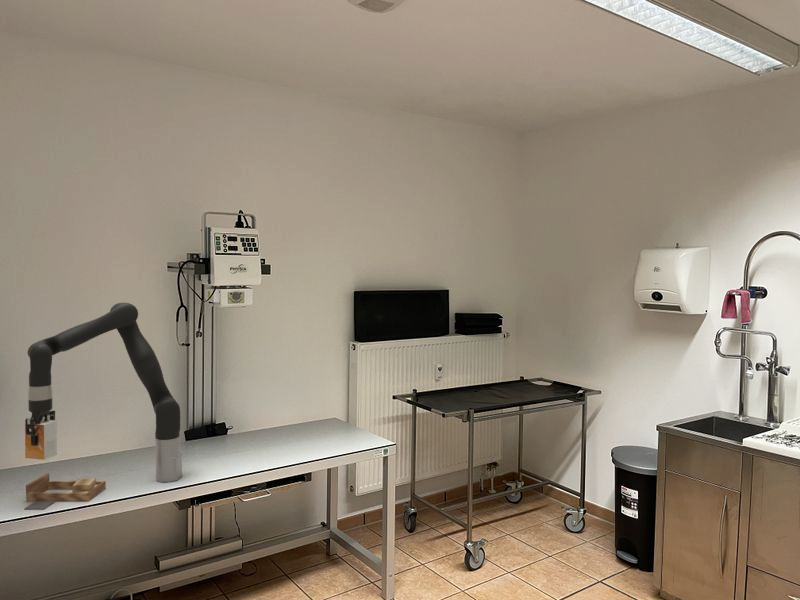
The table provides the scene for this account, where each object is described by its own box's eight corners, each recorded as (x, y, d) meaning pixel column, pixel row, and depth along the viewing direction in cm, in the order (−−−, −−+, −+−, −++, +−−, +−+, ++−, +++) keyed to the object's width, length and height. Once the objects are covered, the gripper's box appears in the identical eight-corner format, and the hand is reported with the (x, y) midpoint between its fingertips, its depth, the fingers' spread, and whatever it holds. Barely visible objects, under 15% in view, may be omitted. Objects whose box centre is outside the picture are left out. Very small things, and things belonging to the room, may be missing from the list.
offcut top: (96, 484, 233) (95, 478, 233) (89, 491, 226) (89, 484, 226) (79, 485, 232) (79, 479, 232) (72, 492, 225) (72, 485, 225)
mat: (55, 502, 222) (55, 500, 222) (43, 509, 215) (43, 508, 215) (36, 501, 222) (36, 500, 222) (24, 509, 215) (24, 508, 215)
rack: (105, 488, 235) (105, 473, 235) (88, 501, 222) (87, 485, 222) (47, 488, 236) (46, 473, 235) (26, 501, 223) (25, 485, 222)
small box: (24, 458, 218) (24, 423, 218) (38, 453, 224) (37, 418, 224) (44, 460, 217) (43, 424, 216) (57, 455, 223) (57, 420, 222)
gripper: (38, 402, 212) (38, 448, 213) (62, 393, 227) (62, 437, 227) (17, 401, 213) (17, 448, 213) (42, 393, 227) (43, 437, 228)
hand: (41, 442), depth 220 cm, fingers closed on small box, 6 cm apart
